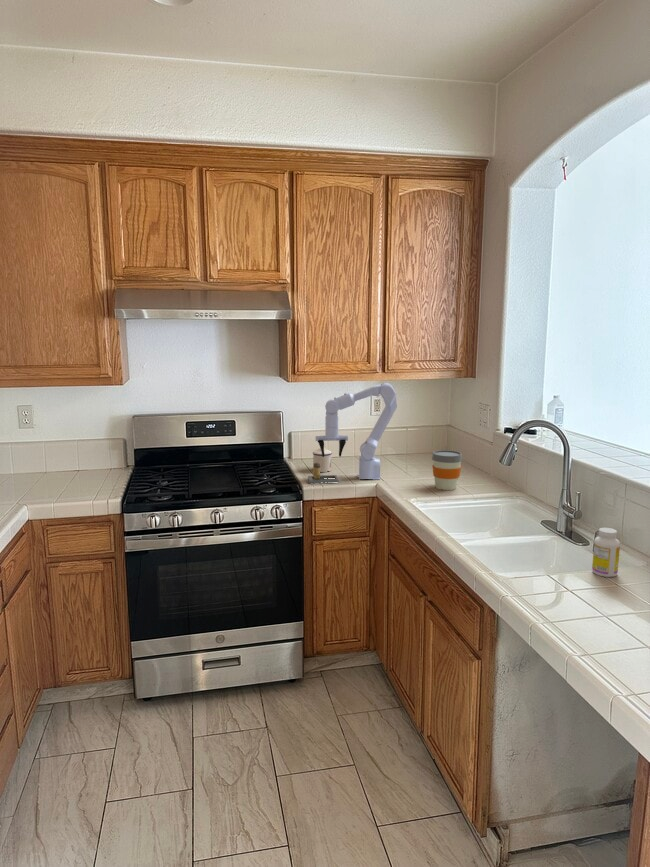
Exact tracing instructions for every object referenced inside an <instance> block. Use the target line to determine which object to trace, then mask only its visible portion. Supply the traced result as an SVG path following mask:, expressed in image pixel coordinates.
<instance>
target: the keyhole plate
mask: <svg viewBox="0 0 650 867" xmlns="http://www.w3.org/2000/svg"><path fill="white" fill-rule="evenodd" d="M324 478H327V479H324ZM328 478H335V479H328ZM308 480H309V481H308ZM307 481H308V484H309V483H321V482H323V483H325V482H327V484H329V483H328V482H339V483H340V480H339V477H338V476H337V475H336V474H334V475H333V474H332V475H331V474H330V475H328V474H327V475H326V474H325V475H324V474H323V475H320V479H313V475H307Z"/></svg>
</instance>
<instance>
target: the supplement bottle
mask: <svg viewBox="0 0 650 867" xmlns="http://www.w3.org/2000/svg"><path fill="white" fill-rule="evenodd" d="M617 535H618V530H616V529H614V528H611V527H600V528H598V536H596V537H595V538H594V542H593V554H592V566H591V567H592V568H591V570H592V572H593V573H594V574H595V575H597V576H601V577H603V578H613V577H616V576H617V575H618V571H619V559H620V549H621V542H620V540H619V539H617V537H618V536H617Z"/></svg>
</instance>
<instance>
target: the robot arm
mask: <svg viewBox="0 0 650 867" xmlns="http://www.w3.org/2000/svg"><path fill="white" fill-rule="evenodd" d="M371 396H373V397H380V396H381V398H382V400H383V402H384V407H383V409H382V411H381V412H380V415H379V417H378V419H377V421H376V422H375V425H374V426H373V428H372V430H371V432H370V434H369V435H368V437H367V438H366V440H365V441H364V442H363V443H362V444H361V445H360V447H359V451H360V456H359V458H358V459H359V461H358V464H359V465H358V474H357V475H358V476H357V478H358V477H359V478H358V479H359V480H360V479H373V480H381V461H380V458H376V457H375V455H376V449H377V447H378V444H379V442H380V440H381V438H382V436H383V434H384V433H385V430H386V429H387V427H388V424H389V423H390V421H391V419H392V417H393V416H394V414H395V412H396V410H397V408H398V404H397V402H398V401H397V393H396V390H395V388H394V387H393V386H392V385H391V383H389V382H383V383H382V382H381V384H378V383H377V384H376V385H372V386H370V387H368V388H365V389H363V390H361V391H360V390H359V391H358V392H355V393H353V394H352V393H350V392H348V393H347V392H344V393H343V395H341V396H340V395H339V397H334V398H333V399H329V400H328V401H326V403H325V404H324V406H325V407H324V408H325V411H326V412H325V423H324V424H325V429H324V430H325V434H324V435H317V436H315V438H314V439H315V442H317V443H318V445H319V447H320V448H321V452H322V457H324V447H325V442H327V441H328V442H330V441H331V442H332V441H333V442H336V441H337V442H338V446H339V447H338V456H339V457H342V454H343V450H344V447H345V446H346V442H347V441H349V436H348V435H339V416H338V414H339V413H338V412H339V411H342V410H344V409H348V408H350V407H353V406H354V405H355V404H356V402H357V401H360V400H362V399H366V398H368V397H371ZM320 448H319V449H320Z"/></svg>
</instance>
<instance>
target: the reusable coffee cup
mask: <svg viewBox="0 0 650 867" xmlns="http://www.w3.org/2000/svg"><path fill="white" fill-rule="evenodd" d="M431 460H432V463H433V464H432V474H433V477H434V485H435V488H436V489H438V490H441V489H443V490H444V491H452V490H453V489H454V490H456V489H457V486H458V480H459V478H460V476H461V469H462V465H461V464H462V461H463V454H462V452H460V451H456V450H448V449H446V450H445V449H443V450H442V449H441V450H440V449H439V450H434V451H432V458H431ZM443 490H442V491H443Z"/></svg>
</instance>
